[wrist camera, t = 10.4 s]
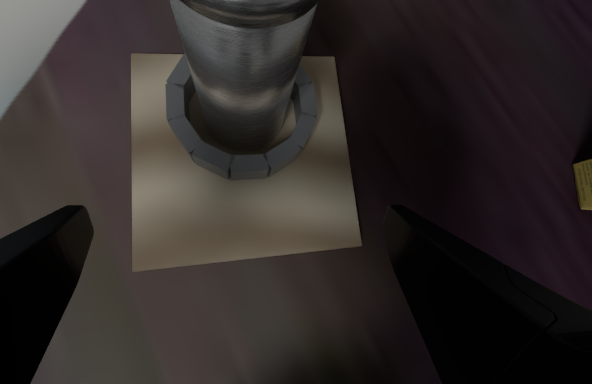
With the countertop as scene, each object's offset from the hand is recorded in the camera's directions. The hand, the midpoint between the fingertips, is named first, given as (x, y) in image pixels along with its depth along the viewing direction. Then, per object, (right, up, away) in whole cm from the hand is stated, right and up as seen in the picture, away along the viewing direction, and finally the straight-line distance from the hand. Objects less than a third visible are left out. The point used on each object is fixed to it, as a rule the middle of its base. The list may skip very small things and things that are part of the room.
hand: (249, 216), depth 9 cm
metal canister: (-2, +6, +11) cm, 13 cm away
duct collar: (-2, +6, +12) cm, 14 cm away
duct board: (-2, +3, +12) cm, 12 cm away
